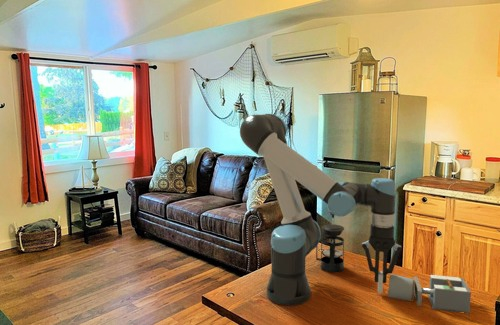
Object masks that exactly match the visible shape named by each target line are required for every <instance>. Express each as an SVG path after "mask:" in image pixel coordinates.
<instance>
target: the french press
mask: <svg viewBox="0 0 500 325" xmlns="http://www.w3.org/2000/svg"><path fill="white" fill-rule="evenodd" d="M327 215H329V216H331V219H332V222H331V224H329V223H328V224H323V225H322V226H321V227H320V229H321V230H322V232H321V233H322V234H323V235H324V236H321V239H320V242H321V243H320V244H321V245H320V246H321V247H320V252H321V253H320V257H318V246H319V244H318V245H317V246H316V248H315V249H316V252H315V257H316V258H315V260H316V261H319V262H320V269H321V270H322V271H325V272H326V273H334V274H335V273H341V272H343V271H344V270H345V265H344V264H345V258H344V257H345V239H344V238H343V237H341V236H340V235H341V234H342V232H343V231H344V230H345V227H344V226H343V225H339V224H334V218H335V215H334V214H332V213H331V212H330V211H329V212H327ZM324 240H330V242H327V241H324ZM336 240H338V241H341V242H336ZM323 245H324V246H327V247H329V248H326V249H323ZM340 246H342V247H343V248H342V250H339V249H336V247H340Z"/></svg>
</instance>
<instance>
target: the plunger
mask: <svg viewBox="0 0 500 325" xmlns="http://www.w3.org/2000/svg"><path fill="white" fill-rule="evenodd" d="M413 280H414V281H415V291H414V299H415V301H416V305H417V306H420V307H421V306H422V302H423V301H422V300H423V294H424V295H428V294H431V295H433V293H434V289H430V287H421V284H420V283H421V282H420V280H419V277H418V276H413ZM446 286H449V288H452V285H451V283H450V280H449V279H446Z"/></svg>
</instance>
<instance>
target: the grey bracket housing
mask: <svg viewBox="0 0 500 325" xmlns="http://www.w3.org/2000/svg"><path fill="white" fill-rule="evenodd" d="M446 279H449V280H450V283H451V285H452V288H449V286H446ZM429 289H434V293H433V295H431V294H427V297H428V300H429V303H430V305H431V309H432V310H437V311H445V312H451V311H452V312H453V313H459V312H464V313H463V314H467V313H471V300H472V299H471V297H472V296H471V295H472V292H471V289H470V288H469V286H468V285H467V283H466V281H465V280H464V278H461V277H457V276H456V277H455V276H447V275H435V274H430V275H429Z"/></svg>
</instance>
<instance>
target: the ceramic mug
mask: <svg viewBox="0 0 500 325" xmlns="http://www.w3.org/2000/svg"><path fill="white" fill-rule="evenodd" d="M414 291H415V281H414V278H410V277H406V276H401V275H397V274H393V273H390V275H389V280H388V289H387V296H388V298H391V299H396V300H403V301H407V302H409V301H410V302H412V301H414V299H415V294H414Z"/></svg>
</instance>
